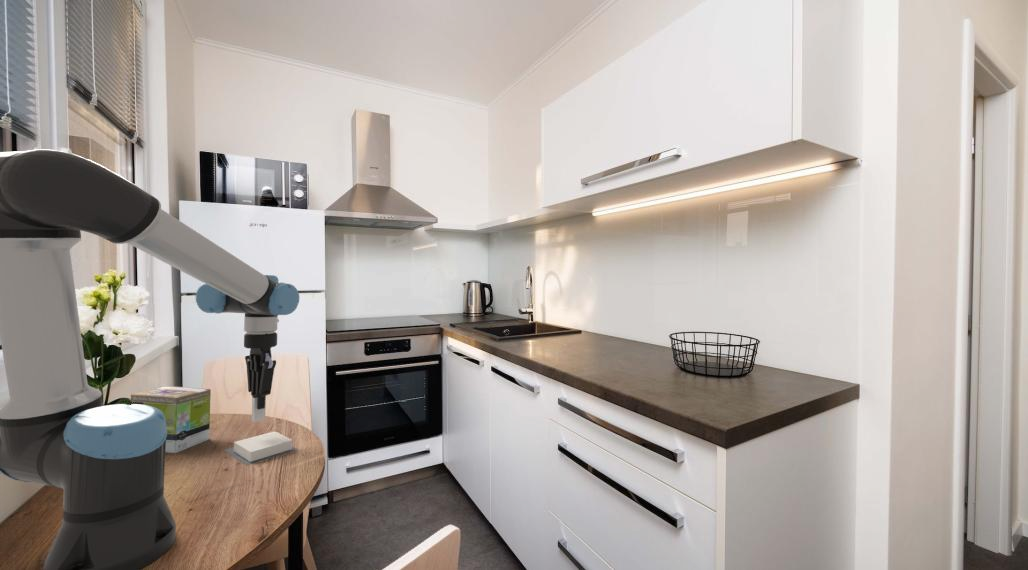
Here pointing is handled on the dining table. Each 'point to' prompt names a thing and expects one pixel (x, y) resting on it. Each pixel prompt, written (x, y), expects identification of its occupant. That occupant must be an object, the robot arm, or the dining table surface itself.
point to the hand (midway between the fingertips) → (258, 420)
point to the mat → (246, 462)
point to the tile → (262, 446)
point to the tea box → (180, 414)
